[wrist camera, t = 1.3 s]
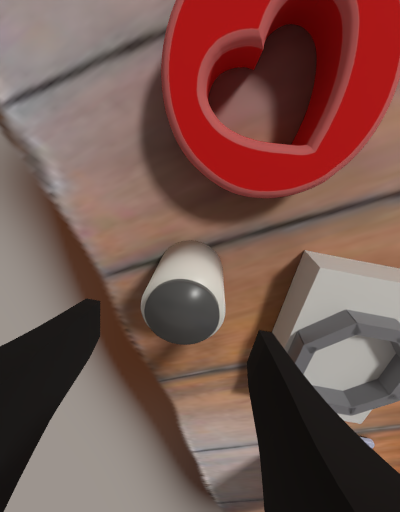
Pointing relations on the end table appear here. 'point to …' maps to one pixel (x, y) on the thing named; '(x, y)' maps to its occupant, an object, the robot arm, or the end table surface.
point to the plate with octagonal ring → (344, 331)
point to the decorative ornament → (247, 55)
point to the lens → (185, 294)
